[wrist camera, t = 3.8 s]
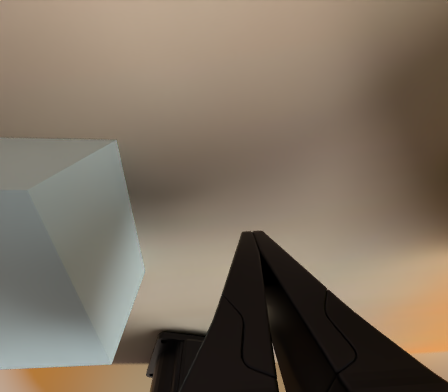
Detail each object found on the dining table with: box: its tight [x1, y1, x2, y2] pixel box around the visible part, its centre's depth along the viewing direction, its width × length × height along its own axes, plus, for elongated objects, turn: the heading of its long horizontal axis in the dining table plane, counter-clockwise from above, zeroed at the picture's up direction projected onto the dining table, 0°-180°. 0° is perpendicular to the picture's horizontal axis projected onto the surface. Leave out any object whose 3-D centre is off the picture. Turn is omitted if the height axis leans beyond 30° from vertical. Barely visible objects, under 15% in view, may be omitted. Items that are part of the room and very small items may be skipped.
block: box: [0, 137, 145, 370], centre depth 8 cm, size 8×9×5 cm
